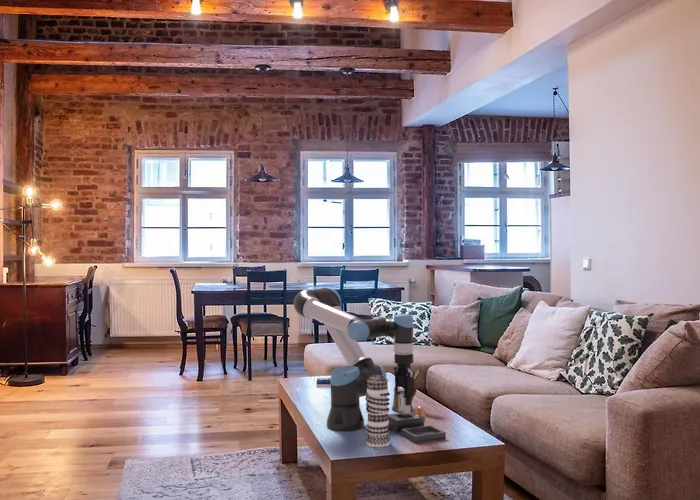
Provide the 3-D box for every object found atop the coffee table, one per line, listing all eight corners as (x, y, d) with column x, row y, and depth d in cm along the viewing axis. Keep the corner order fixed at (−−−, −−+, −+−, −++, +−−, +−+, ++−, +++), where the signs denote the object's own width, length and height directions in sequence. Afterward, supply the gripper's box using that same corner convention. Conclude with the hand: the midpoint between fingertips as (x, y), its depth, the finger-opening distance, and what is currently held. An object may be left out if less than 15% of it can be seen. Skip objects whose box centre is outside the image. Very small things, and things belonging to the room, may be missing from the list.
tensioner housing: (396, 433, 253) (396, 413, 253) (385, 427, 262) (385, 407, 262) (430, 429, 258) (430, 409, 258) (418, 422, 267) (417, 403, 267)
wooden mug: (424, 411, 286) (423, 370, 286) (393, 412, 285) (393, 371, 285) (420, 406, 295) (419, 366, 295) (390, 407, 293) (390, 367, 293)
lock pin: (401, 430, 256) (401, 389, 256) (395, 427, 261) (395, 386, 261) (413, 429, 258) (413, 387, 258) (407, 425, 263) (406, 385, 263)
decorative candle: (389, 439, 245) (388, 373, 245) (391, 447, 236) (391, 378, 235) (365, 440, 245) (364, 373, 244) (366, 447, 235) (365, 378, 235)
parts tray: (415, 443, 240) (415, 436, 240) (401, 435, 250) (401, 429, 250) (445, 439, 245) (445, 432, 245) (431, 431, 255) (431, 425, 255)
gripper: (422, 355, 253) (422, 415, 253) (402, 349, 268) (403, 406, 269) (405, 357, 250) (405, 417, 250) (386, 350, 266) (386, 408, 266)
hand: (404, 411), depth 259 cm, fingers closed on lock pin, 3 cm apart
